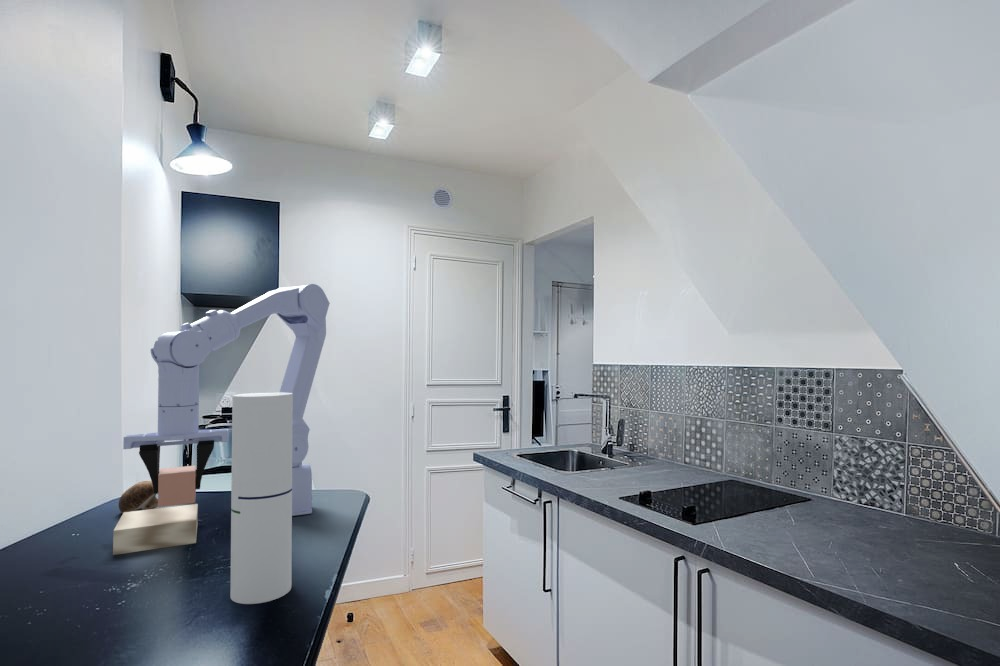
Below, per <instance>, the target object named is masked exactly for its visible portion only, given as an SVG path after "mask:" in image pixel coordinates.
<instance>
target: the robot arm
mask: <svg viewBox="0 0 1000 666" xmlns="http://www.w3.org/2000/svg"><path fill="white" fill-rule="evenodd" d="M330 304H331V303H330V301H329V299H328V298H327V295H326V293H325V291H324V289H323V288H322V287H321V286H320V285H318V284H316V283H309V284H306V285H305V284H304V285H297V286H295V285H294V286H281V287H278V288H277V289H273V290H268V291H267V292H266V293H265V294H263V295H260V296H259V297H257V298H255V299H253V300H251V301H249V302H247V303H246V304H244V305H242V306H240V307H238V308H237V309H235V310H233V311H232V312H229V311H226V310H224V309H219V310H217V309H210V310H208V311H206V312H205V315H206V316H204V317H202V318H200V319H198V320H196V321H194V322H192V323H190V322H185V323H183V324H180V329H179V331H170V332H169V331H168V332H164V333H163V334H161V335H159V336H158V337H157V340H155V342H154V344H153V347H152V348H150V354H151V357H152V359H153V361H154V362H155V363H156V364H157V368H158V369H157V372H158V379H157V381H158V384H157V385H158V389H157V391H158V393H157V394H158V395H157V432H148V433H138V434H128V435H127V434H125V435H124V436H123V449H122V450H131V449H137V448H139V451H138V455H139V456H140V458H141V460H142V462H143V463H144V466H145V468H146V469H147V471H148V475H149V478H150V481H152V485H153V490H154V494H156V495H158V475H159V472H160V460H161V447H163V446H164V447H165V446H167V447H168V446H179V445H194V444H196V480H195V489H196V490H200V489H201V482H202V478H203V474H204V472H205V468H206V465H207V463H208V461H209V459H210V456H211V454H212V452H213V450H214V448H215V443H220V442H221V443H228V442H229V429H228V428H220V429H215V428H214V429H200V428H199V421H200V420H199V417H200V415H199V413H200V411H199V410H200V408H199V407H200V404H199V402H200V401H199V400H200V365H201V364H202V363H204V362H205V360H206V358H207V356H208V355H209V354H211V353H213V352H214V351H217V350H218V349H220V348H222V347H225V346H226V345H228V344H230V343H231V342H233V341H235V340H237V339H238V338H239V336H240V335H241V334H240V333H241V329H243V328H245V327H247V326H250V325H252V324H254V323H256V322H258V321H261V320H262V319H265V318H267V317H269V316H272V315H274V314H276V316H278V318H279V319H280V320H282V322H283V323H285V324H286V326H287V327H288V328H289V329H290V330H291V331H292V332H293V334H294V335H295V339H294V342H293V346H292V348H291V349H292V350H291V353H290V356H289V359H288V363H287V366H286V368H285V372H284V376H283V380H282V383H281V385H280V389H279V392H285V393H293V420H292V517H295V516H302V515H310V514H312V513H313V509H312V508H313V507H312V506H313V503H312V502H313V476H312V467H311V463H303V461H304V460H305V458H306V457H307V455H308V452H309V433H310V430H311V429H310V427H309V426H308V424H307V423H306V421H305V420H304V418H303V417H304V414H305V412H306V411H305V410H306V407H307V403H308V401H309V396H310V393H311V390H312V385H313V383H314V379H315V375H316V371H317V368H318V366H319V365H318V364H319V361H320V358H321V355H322V350H323V347H324V344H325V340H326V335H327V319H326V317H327V314H328V310H329V307H330ZM285 324H284V325H285Z"/></svg>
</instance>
